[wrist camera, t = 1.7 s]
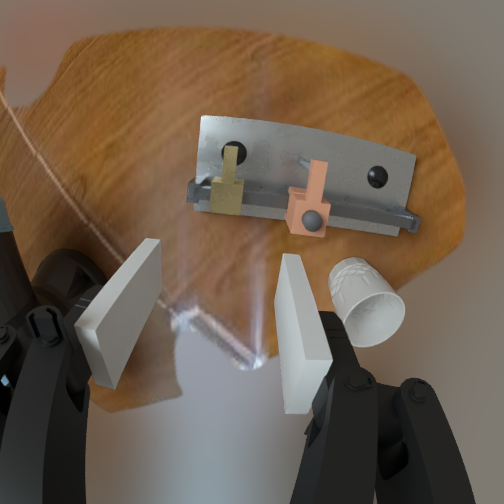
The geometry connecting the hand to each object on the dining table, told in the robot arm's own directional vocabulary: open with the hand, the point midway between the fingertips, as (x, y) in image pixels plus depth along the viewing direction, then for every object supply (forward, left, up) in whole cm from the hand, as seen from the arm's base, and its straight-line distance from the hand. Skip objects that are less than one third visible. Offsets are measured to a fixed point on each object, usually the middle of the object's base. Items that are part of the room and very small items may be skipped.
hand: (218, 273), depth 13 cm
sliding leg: (+7, +2, -19) cm, 20 cm away
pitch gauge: (+8, +3, -21) cm, 22 cm away
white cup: (+17, -10, -21) cm, 29 cm away
